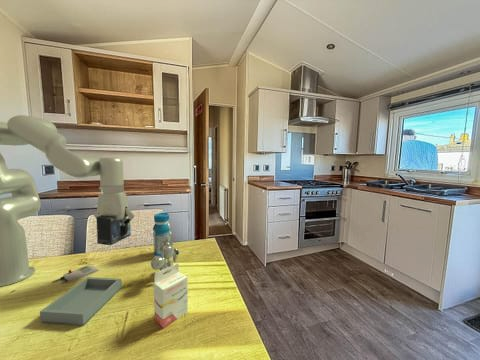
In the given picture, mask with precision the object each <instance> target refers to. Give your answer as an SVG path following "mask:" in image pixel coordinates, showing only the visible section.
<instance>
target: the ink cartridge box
mask: <svg viewBox="0 0 480 360" xmlns="http://www.w3.org/2000/svg"><path fill="white" fill-rule="evenodd" d="M179 266H180V265H179V263H178V262H177V263H175V264H173V266H170V267H168V268H165V269H163V270H161V271H160V270H159V271H157V272H155V273H154V276H153V277H154V278H153V280H154V281H153V300H154V301H153V303H154V305H153V307H154V321H155V322H156V323H157V324H159V325H160V327H162V329H164V328H166V327H167V326H169V325H170V324H171V323H173V322H175V321H176V320H178V319H179V318H181V317H182V316H184V315H186V314H187V313H188V311H189V308H188V307H189V305H188V302H189V301H188V299H189V298H188V297H189V296H188V295H189V294H188V293H189V292H188V290H189V289H188V287H189V286H188V285H189V284H188V276H186V275H185V274H184V273H182V272H180V271H179V269H180V268H179ZM167 270H168V271H169V270H171V272H169V273H166V274H164V275H163V273H165V272H166V271H167Z"/></svg>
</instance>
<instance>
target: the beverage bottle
mask: <svg viewBox="0 0 480 360" xmlns="http://www.w3.org/2000/svg"><path fill="white" fill-rule="evenodd" d="M153 219H154V223H155V224H153V227H152V231H153V232H152V237H153V256H154V257H156V256H161V257H162V255H161V251H162V250H161V251H159V243H160V241H163V240H164V239H166V238H168V242H169V241H171V242H172V229H171V228H172V226H171V224H170V222H169V221H170V214H169V212H159V213H155V214H154V217H153Z"/></svg>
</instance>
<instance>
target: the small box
mask: <svg viewBox="0 0 480 360" xmlns="http://www.w3.org/2000/svg"><path fill="white" fill-rule="evenodd" d="M128 217H129V216H127V219H128ZM95 219H96V230H97V231H96V237H97V239H96V240H97V243H96V244H97V245H105V246H113V245H115V244H117V243H119V242H121V241H123V240H125V239H126V238H129V237H130V236H131V230H132V229H131V221H130V222H129V224H127V225H128V232H127V234H125V235H124V236H121V229H120V227H121V226H122V224H121V223H120V221H119V220H116V217H115V216H98V217H96V218H95ZM123 220H124V219H123Z"/></svg>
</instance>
